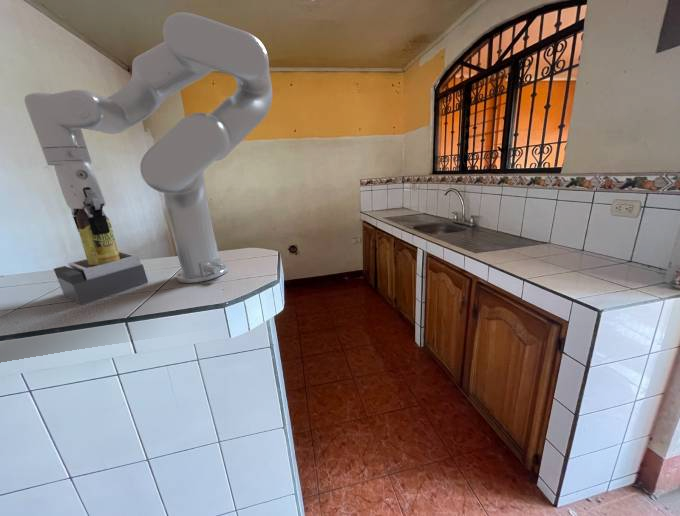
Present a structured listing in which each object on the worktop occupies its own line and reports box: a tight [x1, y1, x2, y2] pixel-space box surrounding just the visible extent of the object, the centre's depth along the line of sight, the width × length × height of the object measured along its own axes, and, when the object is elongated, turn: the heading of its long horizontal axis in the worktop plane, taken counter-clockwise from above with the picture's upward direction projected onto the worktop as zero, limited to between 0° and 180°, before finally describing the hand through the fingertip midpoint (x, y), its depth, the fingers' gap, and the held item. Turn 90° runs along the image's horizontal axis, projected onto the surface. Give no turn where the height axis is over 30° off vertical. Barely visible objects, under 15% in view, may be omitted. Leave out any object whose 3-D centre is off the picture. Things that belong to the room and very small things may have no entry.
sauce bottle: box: [76, 194, 120, 267], centre depth 70 cm, size 6×6×20 cm
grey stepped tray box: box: [53, 250, 149, 306], centre depth 72 cm, size 12×14×8 cm
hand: (94, 232), depth 70 cm, fingers open, 9 cm apart
